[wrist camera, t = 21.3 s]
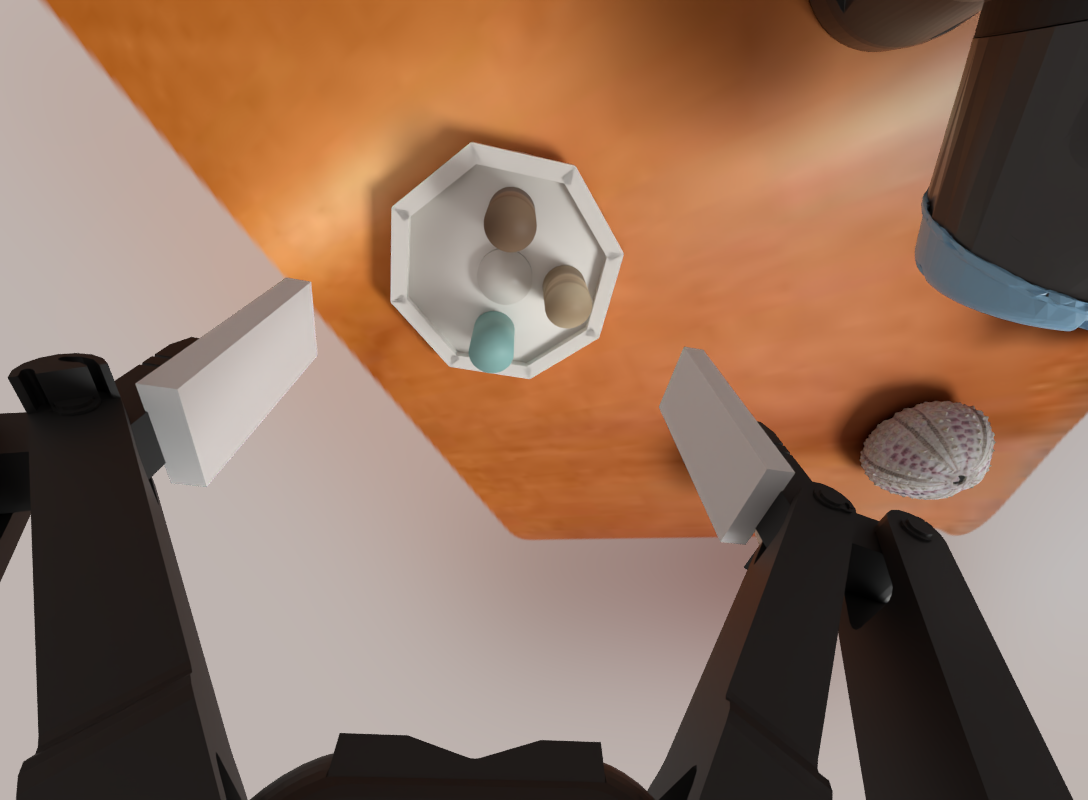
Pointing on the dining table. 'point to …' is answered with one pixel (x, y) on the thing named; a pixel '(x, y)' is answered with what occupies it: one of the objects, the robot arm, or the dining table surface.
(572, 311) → the beige wooden cylinder
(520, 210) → the walnut bead
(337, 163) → the dining table surface
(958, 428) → the sea urchin shell
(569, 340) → the groove tray
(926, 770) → the robot arm
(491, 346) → the teal bead
